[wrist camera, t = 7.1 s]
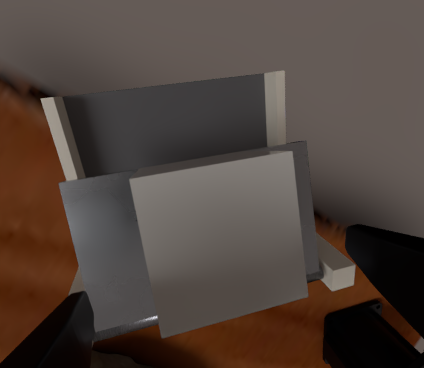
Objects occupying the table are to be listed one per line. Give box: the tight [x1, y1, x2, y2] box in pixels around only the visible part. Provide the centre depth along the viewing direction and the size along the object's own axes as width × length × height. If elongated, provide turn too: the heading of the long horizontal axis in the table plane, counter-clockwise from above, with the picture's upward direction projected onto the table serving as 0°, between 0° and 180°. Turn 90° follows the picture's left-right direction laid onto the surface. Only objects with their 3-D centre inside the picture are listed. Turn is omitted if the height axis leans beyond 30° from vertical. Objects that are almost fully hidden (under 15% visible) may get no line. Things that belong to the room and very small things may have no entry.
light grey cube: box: [129, 151, 308, 338], centre depth 11 cm, size 5×5×5 cm
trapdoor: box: [59, 141, 324, 342], centre depth 14 cm, size 8×12×1 cm, turn 96°
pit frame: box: [41, 71, 355, 347], centre depth 16 cm, size 13×16×8 cm
